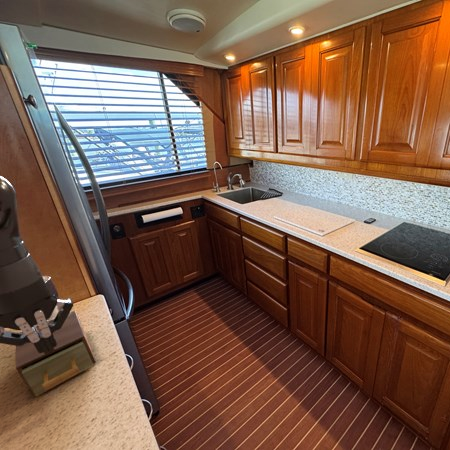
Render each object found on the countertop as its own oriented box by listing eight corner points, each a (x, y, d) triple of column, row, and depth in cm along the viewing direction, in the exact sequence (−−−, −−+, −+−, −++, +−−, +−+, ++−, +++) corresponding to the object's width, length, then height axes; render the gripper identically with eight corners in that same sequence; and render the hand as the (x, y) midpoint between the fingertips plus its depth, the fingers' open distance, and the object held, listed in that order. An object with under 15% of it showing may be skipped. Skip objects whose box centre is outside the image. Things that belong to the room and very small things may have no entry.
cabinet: (96, 362, 61) (84, 335, 58) (33, 396, 53) (15, 367, 50) (85, 334, 70) (75, 310, 67) (30, 360, 62) (15, 334, 59)
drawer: (97, 377, 56) (87, 355, 54) (37, 412, 49) (22, 389, 47) (84, 338, 67) (74, 318, 65) (33, 362, 60) (20, 341, 58)
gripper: (58, 261, 52) (85, 324, 58) (-43, 290, 42) (2, 361, 49) (62, 273, 47) (92, 340, 53) (-51, 309, 38) (1, 384, 44)
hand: (49, 350), depth 51 cm, fingers closed
